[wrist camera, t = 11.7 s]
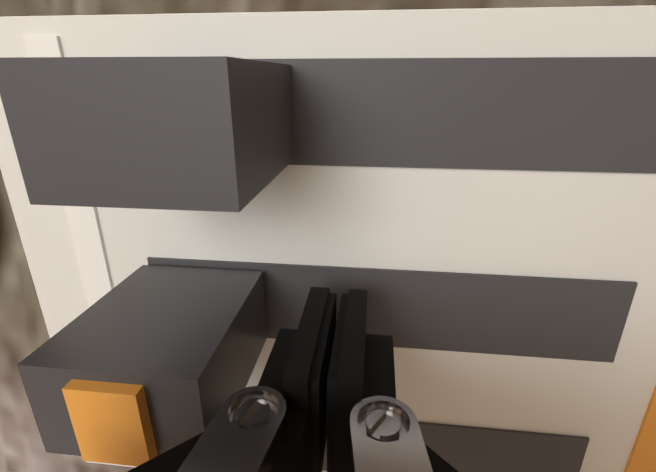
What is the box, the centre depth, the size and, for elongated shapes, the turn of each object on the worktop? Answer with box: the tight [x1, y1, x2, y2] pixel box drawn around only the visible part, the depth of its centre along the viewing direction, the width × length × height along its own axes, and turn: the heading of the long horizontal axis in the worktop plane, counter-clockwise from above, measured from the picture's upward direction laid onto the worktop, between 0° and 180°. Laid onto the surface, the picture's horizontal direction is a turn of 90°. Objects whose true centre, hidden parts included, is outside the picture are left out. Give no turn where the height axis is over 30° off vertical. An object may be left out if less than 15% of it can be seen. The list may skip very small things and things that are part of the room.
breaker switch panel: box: [0, 5, 656, 472], centre depth 12 cm, size 24×17×7 cm
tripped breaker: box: [17, 265, 267, 466], centre depth 11 cm, size 4×2×5 cm, turn 90°
